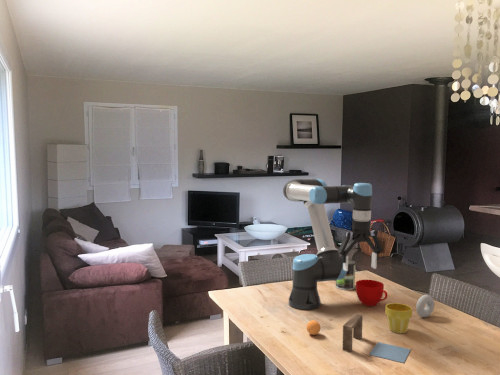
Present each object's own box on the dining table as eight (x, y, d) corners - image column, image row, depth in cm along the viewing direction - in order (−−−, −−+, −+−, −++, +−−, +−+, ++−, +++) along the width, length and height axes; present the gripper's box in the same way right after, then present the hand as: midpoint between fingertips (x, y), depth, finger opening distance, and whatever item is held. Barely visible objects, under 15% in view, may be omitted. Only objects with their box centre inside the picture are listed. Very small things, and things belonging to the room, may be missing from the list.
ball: (304, 335, 174) (304, 321, 173) (309, 330, 178) (309, 317, 178) (317, 338, 171) (317, 324, 170) (322, 333, 176) (322, 320, 175)
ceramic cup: (376, 313, 198) (377, 291, 197) (349, 302, 212) (350, 282, 211) (395, 307, 205) (396, 287, 204) (368, 297, 219) (368, 278, 218)
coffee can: (347, 291, 228) (348, 265, 227) (331, 286, 236) (332, 261, 235) (358, 287, 235) (359, 261, 234) (342, 283, 243) (343, 258, 242)
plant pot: (380, 325, 184) (381, 302, 183) (404, 324, 185) (405, 302, 184) (390, 335, 174) (391, 311, 173) (415, 335, 175) (416, 311, 174)
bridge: (342, 349, 161) (343, 325, 160) (354, 335, 173) (355, 313, 173) (350, 351, 160) (351, 327, 159) (362, 337, 172) (362, 314, 171)
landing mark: (369, 354, 157) (369, 354, 157) (377, 342, 168) (377, 341, 168) (403, 363, 151) (403, 362, 151) (410, 349, 161) (410, 349, 161)
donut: (420, 320, 190) (421, 297, 189) (413, 317, 193) (414, 295, 192) (435, 316, 195) (436, 294, 194) (428, 313, 198) (429, 292, 197)
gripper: (339, 222, 177) (337, 273, 179) (392, 220, 184) (390, 269, 186) (330, 219, 184) (329, 268, 186) (382, 217, 191) (380, 264, 194)
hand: (359, 269), depth 186 cm, fingers open, 13 cm apart
